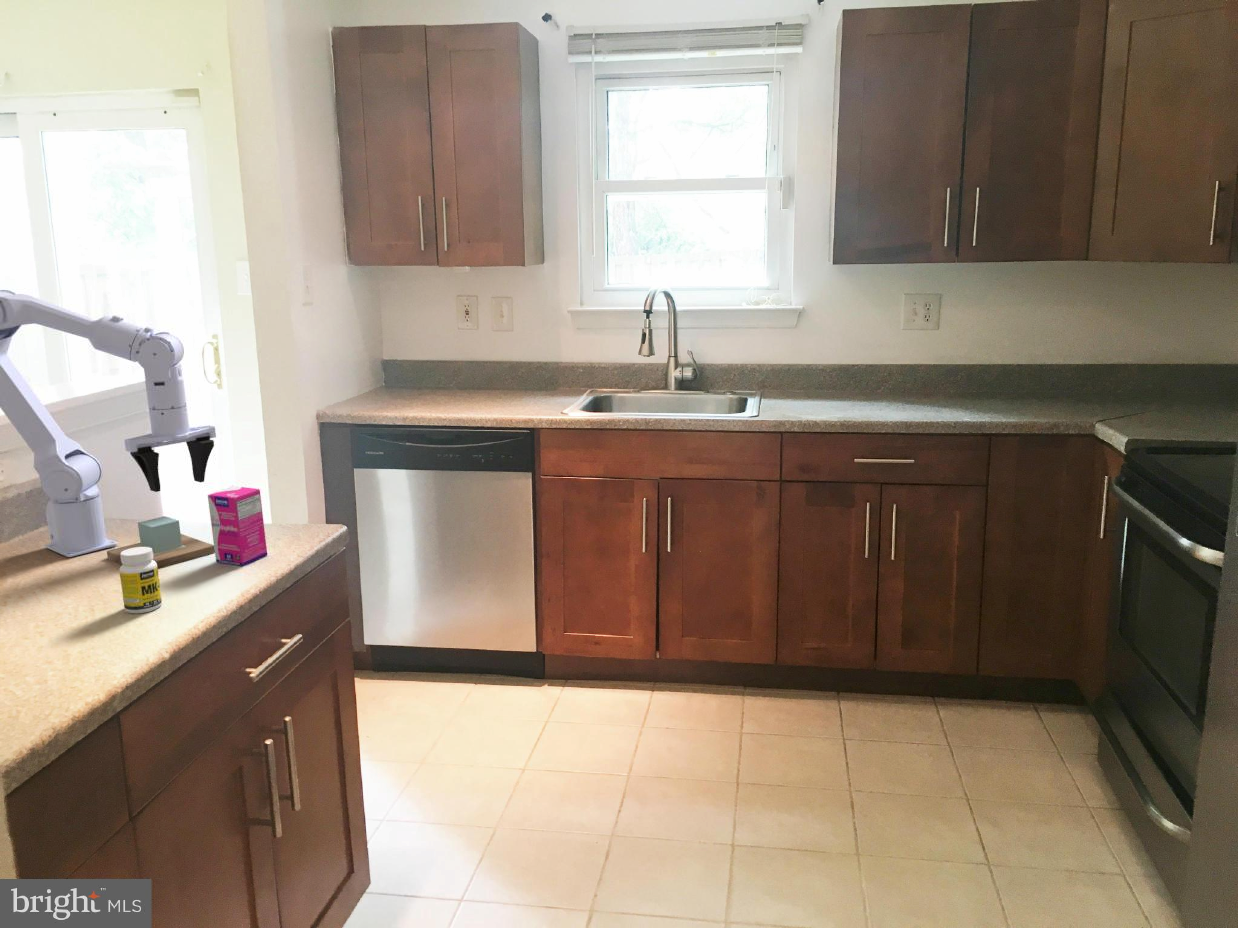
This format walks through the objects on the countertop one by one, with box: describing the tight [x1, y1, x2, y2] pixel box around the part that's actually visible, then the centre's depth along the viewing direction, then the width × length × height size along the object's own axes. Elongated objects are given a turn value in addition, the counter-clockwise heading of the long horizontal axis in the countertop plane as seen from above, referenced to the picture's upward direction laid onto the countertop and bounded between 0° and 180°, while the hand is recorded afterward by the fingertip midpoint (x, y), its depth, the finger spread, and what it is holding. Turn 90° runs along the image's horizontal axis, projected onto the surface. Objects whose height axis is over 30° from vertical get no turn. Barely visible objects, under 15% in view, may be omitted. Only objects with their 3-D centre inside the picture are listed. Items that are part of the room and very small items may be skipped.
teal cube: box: [137, 515, 182, 554], centre depth 154 cm, size 4×4×4 cm
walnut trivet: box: [106, 533, 215, 569], centre depth 155 cm, size 12×12×1 cm
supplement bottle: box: [118, 547, 163, 614], centre depth 131 cm, size 5×5×8 cm
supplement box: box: [207, 485, 268, 567], centre depth 151 cm, size 6×6×12 cm
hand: (177, 485), depth 160 cm, fingers open, 7 cm apart
